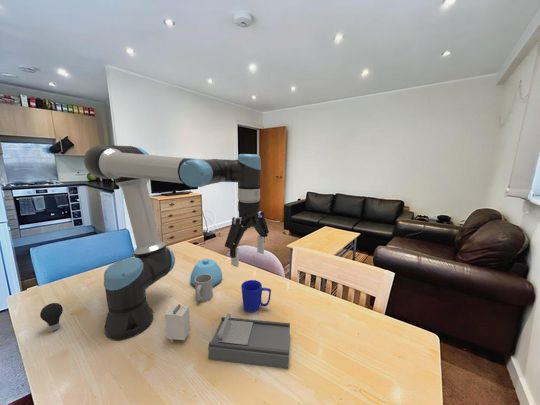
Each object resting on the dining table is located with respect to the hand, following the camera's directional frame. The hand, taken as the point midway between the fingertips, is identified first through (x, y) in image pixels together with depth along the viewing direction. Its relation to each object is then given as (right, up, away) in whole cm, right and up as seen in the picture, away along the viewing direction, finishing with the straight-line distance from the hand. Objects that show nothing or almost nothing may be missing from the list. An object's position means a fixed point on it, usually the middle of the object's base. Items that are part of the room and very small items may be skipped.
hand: (248, 258), depth 80 cm
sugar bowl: (-24, -19, +31) cm, 44 cm away
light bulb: (-68, -25, -1) cm, 72 cm away
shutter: (-3, -22, -8) cm, 24 cm away
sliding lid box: (+2, -27, -7) cm, 28 cm away
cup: (-21, -22, +17) cm, 35 cm away
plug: (-23, -26, -4) cm, 35 cm away
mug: (+2, -23, +11) cm, 26 cm away
